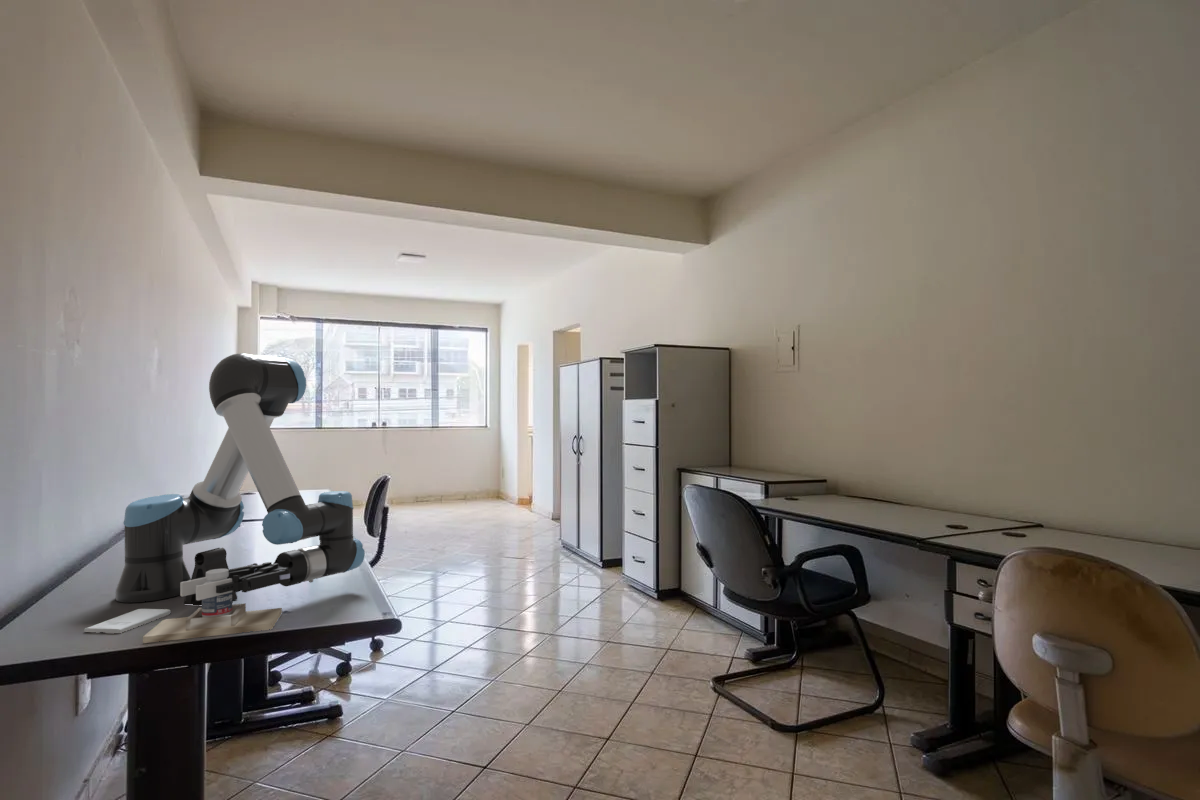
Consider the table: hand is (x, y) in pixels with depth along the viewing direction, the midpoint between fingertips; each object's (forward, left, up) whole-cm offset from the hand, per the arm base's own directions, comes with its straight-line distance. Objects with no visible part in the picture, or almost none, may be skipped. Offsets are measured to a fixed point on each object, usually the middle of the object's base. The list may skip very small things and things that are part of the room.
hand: (189, 591), depth 125 cm
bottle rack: (0, +5, -8) cm, 10 cm away
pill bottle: (0, +5, -6) cm, 8 cm away
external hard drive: (-20, -2, -9) cm, 22 cm away
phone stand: (-20, +14, -9) cm, 26 cm away
